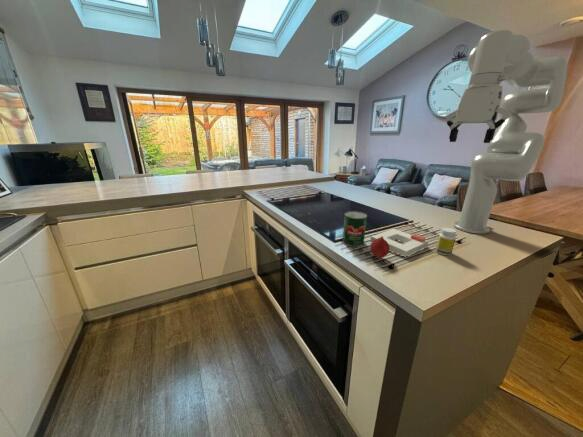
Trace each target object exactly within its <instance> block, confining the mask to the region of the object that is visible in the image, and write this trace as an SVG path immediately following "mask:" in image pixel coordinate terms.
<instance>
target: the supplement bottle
mask: <svg viewBox="0 0 583 437" xmlns="http://www.w3.org/2000/svg"><path fill="white" fill-rule="evenodd" d="M456 234H457V231H456V230H455V229H453V228H450V227H442V228H441V232H440V233H439V236H438V238H437V242H436V247H435V252H436V251H437V252H436V253H438V254H440V255H443V256H451V255H452V254H453V249H454V246H455V242H456V238H457V236H456Z"/></svg>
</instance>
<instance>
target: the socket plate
mask: <svg viewBox="0 0 583 437" xmlns="http://www.w3.org/2000/svg"><path fill="white" fill-rule="evenodd" d="M381 236H383V239H384V240H386V241H387V243H388V244H389V247H390V248H389V250H391V251H394V252H397V253H399V254H401V255H404V256H407V255H409V254H411V253H413V252H415V251H418V250H420V249H422V248H425V247H427V246H429V242H430V241H429V240H426V239H427V238H426V237H424V236H420V235H418V234H409V233H408V232H404V231H401V230H399V229H396V228H391V229H388V230H385V231H382V232H379V233H378V234H374V235H371V236H370V240H369V241H370V242H373V241H374V240H375V239H377V238H380V237H381ZM394 239H397V240H396V241H395V240H394ZM398 240H400V241H403V242H406V243H403V242H402V243H403V244H402V243H401V242H400V241H398ZM427 248H428V247H427ZM425 249H426V248H425Z"/></svg>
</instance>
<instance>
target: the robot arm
mask: <svg viewBox="0 0 583 437" xmlns="http://www.w3.org/2000/svg"><path fill="white" fill-rule="evenodd" d="M477 44H478V45H477V46H475V47H474V48H473V49H472V50H471V51H470V53H469V55H468V59H467V67H468V68H469V71H470V72H471V74H470V78H469V82H468V86H467V88H465V89H464V91H463V93H462V97H461V99H460V101H459V104H458V106H457V109H456V110H454V111H453V112H450V113H449V114H447V115H445V118H444V119H445V120H446V125H447V126H448V127H449V129H450V133H449V137H448V139H449V143H456V141H457V138H458V134H459V132H460V131H459V127H460V126H462V124H486V125H487V126H488V128H487V129H486V132H485V136H484V139H483V143H484V144H488V145H487V148H486V152H484V153H483V152H482V153H478V154H477V155H475V157H474V158H472V160H471V163H470V164H471V165H470V176H469V182H468V185H467V189H466V193H465V198H464V201H463V205H462V209H461V213H460V217H459V219H458V221H454V222H453V227H455V228H456V229H458V230H460V231H463V232H466V233H469V234H478V235H486V234H488V233H489V234H490V231H491V229H490V228H489V227H488V226H487V225H488V222H489V218H490V215H491V212H492V208H493V205H494V203H495V199H496V196H497V192H498V187H497V184H496V182H495V180H502V181H507V182H509V181H510V182H519V181H523V180H524V179H525V178H527V176H528V175H529V173H530V171H531V170H532V168H533V167H534V164H535V163H536V161H537V159H538V158H539V156H540V154H542V153H541V152H542V151H543V149H544V144H545V136H544V135H543V134H541V133H540V132H532V131H531V132H526V130H527V128H528V126H527V123H526V120H525V119H523V117H521V116H520V115H521V114H539V113H544V114H545V113H549V112H552V111H555V110H556V109H558V108H559V106H560V105H561V102H562V101H563V98H564V92H565V86H566V79H567V72H568V63H567V58H566V57H565V56H563V55H556V56H551V57H545V58H539V59H536V58H535V57H534V56H533V54H532V53H530V52H529V51H530V46H531V44H530V40H529V39H528V37H527V36H525V35H523V34H517V33H516V34H515V33H513V32H512V31H511V30H508V29H499V30H493V31H490V32H488V33H486V34H484V35H483V36H482V37H481V38H480V39H479V41H478V43H477ZM504 81H505V82H506V83H507V84H509V85H510V86H512V87H514V88H520V89H521V88H528V87H539V86H547V87H542V88H531V89H525V90H524V89H523V90H517V91H513V92H510V93H508V94H506V95H505V96H504V98H503V99H502V95H503V85H501V84H502V82H504ZM519 114H520V115H519ZM498 117H499V120H497V119H498ZM453 118H455V122H454V121H453Z"/></svg>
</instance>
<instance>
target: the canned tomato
mask: <svg viewBox="0 0 583 437" xmlns="http://www.w3.org/2000/svg"><path fill="white" fill-rule="evenodd" d="M367 218H368V215H367V213H365V212H361V211H357V210H352V211H351V210H350V211H347V212H344V218H343V219H344V220H343V231H342V243H343V244H344V245H346V246H350V247H362V246H363V245H364V244H365V235H366V228H367V227H366V226H367ZM361 245H362V246H361Z"/></svg>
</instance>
